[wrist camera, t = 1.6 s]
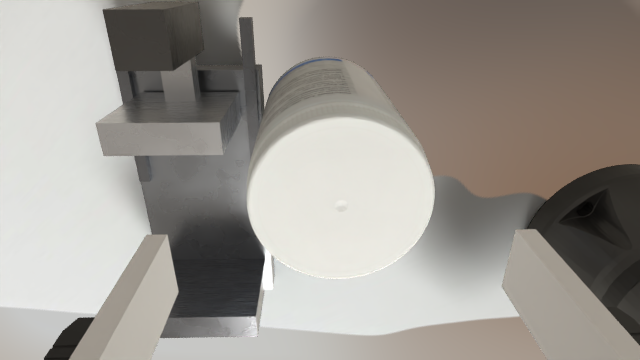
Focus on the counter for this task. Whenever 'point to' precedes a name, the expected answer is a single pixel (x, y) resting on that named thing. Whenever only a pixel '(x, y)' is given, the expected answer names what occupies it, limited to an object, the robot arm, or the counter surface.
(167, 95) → the sliding jaw
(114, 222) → the counter surface
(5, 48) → the counter surface
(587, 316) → the robot arm
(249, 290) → the vise
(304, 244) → the supplement tub
